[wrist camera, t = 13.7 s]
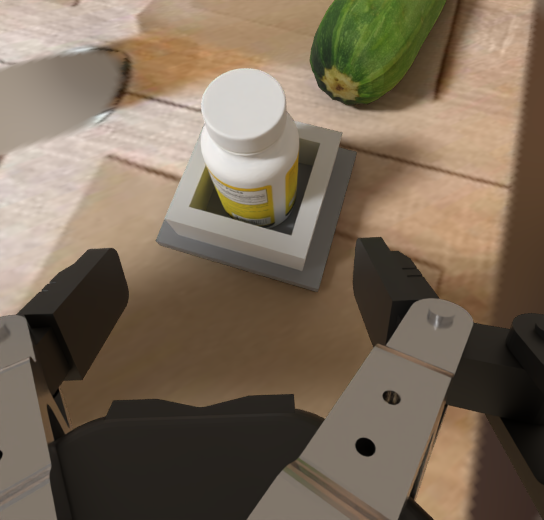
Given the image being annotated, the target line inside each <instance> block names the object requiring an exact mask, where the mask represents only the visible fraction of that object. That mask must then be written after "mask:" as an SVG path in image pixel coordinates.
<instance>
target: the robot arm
mask: <svg viewBox="0 0 544 520" xmlns="http://www.w3.org/2000/svg"><path fill="white" fill-rule="evenodd" d="M353 291H354V296H355V299H356V302H357V304H358V307H359V310H360V313H361V315H362V318H363V321H364V323H365V326H366V329H367V332H368V334H369V337H370V340H371V342H372V345H373V349H372V351H371V352H370V354H369V355H368V357H367V358H366V360H365V361H364V363H363V364H362V366H361V367H360V369H359V370H358V371H357V373H356V374H355V376H354V377H353V379H352V380H351V382H350V383H349V385H348V386H347V388H346V389H345V391H344V392H343V394H342V395H341V397H340V398H339V399H338V401H337V402H336V404H335V405H334V407H333V408H332V410H331V411H330V413H329V414H328V416H327V417H326V419H324V418H322V417H320V416H318V415H316V414H313V413H310V412H307V411H304V410H300V409H295V405H294V394H282V395H254V396H246V397H242V398H238V399H234V400H230V401H226V402H222V403H218V404H215V405H211V406H207V407H194V406H189V405H184V404H179V403H175V402H170V401H165V400H160V399H143V400H115V401H113V402H112V405H111V407H110V409H109V411H108V413H107V415H106V416H105V417H101V418H98V419H96V420H93V421H90V422H88V423H86V424H83V425H81V426H79V427H77V428H75V429H73V427H72V423H71V420H70V416H69V413H68V410H67V406H66V403H65V399H64V396H63V393H62V391H61V389H60V387H59V386H60V385H61V383H62V382H63V381H67V380H83V378H84V376H85V375H86V373H87V371H88V370H89V368H90V366H91V365H92V363H93V361H94V359H95V358H96V356H97V354H98V353H99V351H100V349H101V348H102V346H103V344H104V343H105V341H106V339H107V338H108V336H109V334H110V333H111V331H112V329H113V328H114V326H115V324H116V323H117V321H118V319H119V317H120V316H121V314H122V312H123V311H124V309H125V307H126V306H127V303H128V298H129V291H128V286H127V282H126V279H125V276H124V272H123V269H122V266H121V262H120V259H119V256H118V253H117V251H116V250H115V249H114V248H102V249H89V250H87V251H86V252H85V253H84V254H83V255H82V256H81V257H80V258H79V259H78V260H77V261H76V262H75V263H74V264H73V265H71V266H70V267H68V268H66V269H64V270H63V271H61V272H59V273H58V274H57V275H56V276H55V277H54V278H53V279H52V280H51V281H50V284H47V285H46V286H45V287H44V288H43V289H42V292H39V293H38V294H37V295H36V296H35V297H34V298H33V299H32V300H31V301H30V302H29V303H28V304H27V305H26V306H25V307H24V308H23V309H22V310H21V311H20V312H19V313H18V314H16V315H8V316H2V317H0V520H434V519H433V518H432V517H431V516H430V515H429V514H428V513H427V512H426V511H425V510H423V509H422V508H421V507H420V506H419V505H418V504H417V503H416V502H415V500H416V497H417V494H418V491H419V488H420V485H421V482H422V479H423V476H424V473H425V470H426V467H427V464H428V461H429V458H430V455H431V453H432V450H433V447H434V444H435V442H436V439H437V436H438V433H439V430H440V428H441V425H442V422H443V419H444V416H445V414H446V411H447V408H448V405H451V406H455V407H459V408H463V409H468V410H472V411H476V412H480V413H485V415H486V417H487V419H488V421H489V423H490V424H491V426H492V428H493V430H494V432H495V434H496V435H497V437H498V439H499V441H500V443H501V444H502V446H503V448H504V450H505V452H506V454H507V455H508V457H509V459H510V461H511V463H512V465H513V466H514V468H515V470H516V472H517V474H518V476H519V477H520V479H521V481H522V483H523V485H524V486H525V488H526V490H527V492H528V494H529V496H530V497H531V499H532V501H533V503H534V505H535V507H536V508H537V510H538V512H539V514H540V515H541V517H542V519H543V520H544V315H543V314H534V313H528V314H521V315H519V316H517V317H515V318H514V320H513V322H512V325H511V327H510V329H506V328H500V327H494V326H488V325H482V324H477V323H474V322H473V319H472V317H471V315H470V314H469V313H468V312H467V311H466V310H465V309H464V308H462V307H460V306H459V305H457V304H455V303H452V302H449V301H446V300H442V299H439V297H438V296H437V294H436V293H435V292H434V290H433V289H432V288H431V286H430V285H429V284H428V282H427V281H426V279H425V278H424V277H422V274H421V273H420V271H419V270H418V269H417V267H416V266H415V264H414V263H413V262H412V260H411V259H410V258H409V257H407V256H405V255H404V254H402V253H401V252H399V251H390V250H389V248H388V246H387V245H386V243H385V242H384V240H383V239H382V238H381V237H370V238H358V239H357V241H356V247H355V259H354V271H353Z"/></svg>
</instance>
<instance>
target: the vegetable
mask: <svg viewBox="0 0 544 520" xmlns="http://www.w3.org/2000/svg"><path fill="white" fill-rule="evenodd" d="M445 2H446V0H334V2H333V3H332V4H331V6H330V7H329V8H328V10H327V12H326V14H325V15H324V17H323V19H322V21H321V23H320V25H319V27H318V30H317V32H316V34H315V37H314V41H313V44H312V48H311V55H310V64H311V68H312V71H313V73H314V75H315V78H316V81H317V83H318V86H319V88H320V89H321V90H322V91H324V92H325V93H326V94H327V95H329V96H330V97H331V98H332V99H333V100H337V101H340V102H342V103H344V104H346V105H354V104H361V103H365V104H368V103H370V102H373V101H375V100H377V99H379V98H380V97H381V96H383V95H384V94H385V93H386V92H388V91H390V90H391V89H392V88H393V87H394V86H396V85H397V84H398V83H399V82H400V81H401V79H402V78H403V77H404V75H405V74H406V72H407V71H408V70H409V68H410V67H411V65H412V63H413V61H414V59H415V58H416V56H417V54H418V52H419V50H420V48H421V46H422V44H423V42H424V41H425V39H426V37H427V36H428V34H429V32H430V31H431V29H432V27H433V25H434V24H435V22H436V20H437V19H438V17H439V15H440V13H441V11H442V9H443V7H444V5H445Z"/></svg>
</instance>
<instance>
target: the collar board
mask: <svg viewBox="0 0 544 520" xmlns="http://www.w3.org/2000/svg"><path fill="white" fill-rule="evenodd" d="M294 122H295V124H296V127H297V129H298V134H299V160H298V176H297V194H296V201H295V205H294V208H293V210H292V212H291V213H290V215H289V216H288V217H287V218H286V219H285V220H284V221H283V222H282V223H280V224H279V225H277V226H275V227H273V228H270V229H266V228H262V227H259V226H255V225H252V224H248V223H245V222H241V221H238V220H234V219H231V218H230V217H229V216H228V214H227V213H226V211H225V209H224V207H223V205H222V203H221V200H220V198H219V195H218V193H217V191H216V188H215V186H214V183H213V181H212V178H211V176H210V174H209V171H208V169H207V167H206V164H205V161H204V158H203V155H202V151H201V135H202V131H203V128H204V126H203V128H202V131H201V133H200V135H199V138H198V140H197V143H196V145H195V147H194V150H193V152H192V154H191V157H190V159H189V162H188V164H187V166H186V169H185V171H184V173H183V176H182V178H181V181H180V183H179V185H178V188H177V190H176V192H175V195H174V197H173V200H172V202H171V204H170V207H169V209H168V211H167V214H166V216H165V220H164V222H163V224H162V227H161V229H160V231H159V234H158V236H157V239H156V242H157V243H158V244H159V245H161V246H164V247H168V248H171V249H174V250H178V251H181V252H184V253H188V254H191V255H195V256H198V257H201V258H205V259H208V260H211V261H215V262H218V263H221V264H225V265H228V266H231V267H235V268H238V269H242V270H245V271H248V272H252V273H255V274H258V275H262V276H265V277H268V278H272V279H275V280H279V281H282V282H285V283H289V284H292V285H295V286H299V287H302V288H305V289H309V290H312V291H315V292H317V291H318V290H319V286H320V283H321V279H322V275H323V272H324V268H325V265H326V261H327V258H328V254H329V250H330V247H331V243H332V240H333V236H334V233H335V229H336V225H337V222H338V218H339V215H340V211H341V208H342V204H343V200H344V197H345V193H346V190H347V186H348V183H349V179H350V175H351V172H352V168H353V165H354V161H355V158H356V154H357V152H355V151H351V150H347V149H343V148H339V144H340V140H341V136H342V132H338V131H334V130H330V129H326V128H322V127H318V126H314V125H310V124H305V123H301V122H297V121H294ZM204 125H205V124H204Z"/></svg>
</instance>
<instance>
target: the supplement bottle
mask: <svg viewBox="0 0 544 520" xmlns="http://www.w3.org/2000/svg"><path fill="white" fill-rule="evenodd" d="M201 110H202V115H203V119H204V122H205V125H204V128H203V131H202V135H201V151H202V155H203V158H204V161H205V164H206V167H207V169H208V171H209V174H210V176H211V178H212V181H213V183H214V186H215V188H216V191H217V193H218V195H219V198H220V200H221V203H222V205H223V207H224V209H225V211H226V213H227V214H228V216H229V217H230V218H231V219H234V220H238V221H241V222H245V223H248V224H252V225H255V226H259V227H262V228H266V229H270V228H273V227H275V226H277V225H279V224H280V223H282V222H283V221H284V220H285V219H286V218H287V217H288V216H289V215H290V213H291V212H292V210H293V208H294V205H295V201H296V194H297V176H298V160H299V134H298V129H297V127H296V124H295V122H294V120H293V118H292V117H291V116H290V114H289V113H288V112H287V111H286V97H285V93H284V90H283V88H282V87H281V85H280V84H279V82H278V81H277V80H276V79H275V78H274V77H272V76H271V75H269V74H268V73H266V72H263V71H260V70H257V69H250V68H242V69H235V70H231V71H228V72H226V73H224V74H222V75H220V76H218V77H217V78H216V79H214V80H213V81H212V82H211V83H210V85H209V86H208V87H207V89H206V90H205V92H204V94H203V97H202V103H201Z"/></svg>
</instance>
